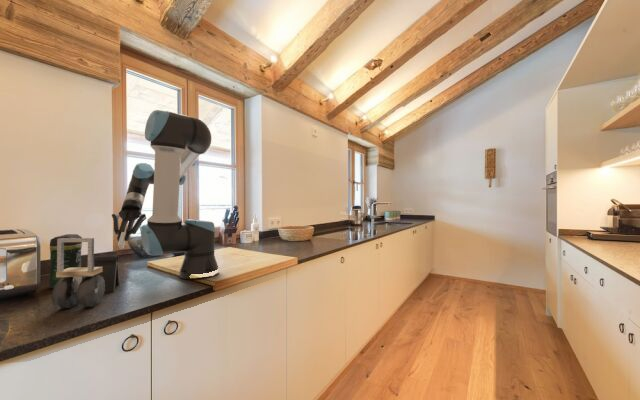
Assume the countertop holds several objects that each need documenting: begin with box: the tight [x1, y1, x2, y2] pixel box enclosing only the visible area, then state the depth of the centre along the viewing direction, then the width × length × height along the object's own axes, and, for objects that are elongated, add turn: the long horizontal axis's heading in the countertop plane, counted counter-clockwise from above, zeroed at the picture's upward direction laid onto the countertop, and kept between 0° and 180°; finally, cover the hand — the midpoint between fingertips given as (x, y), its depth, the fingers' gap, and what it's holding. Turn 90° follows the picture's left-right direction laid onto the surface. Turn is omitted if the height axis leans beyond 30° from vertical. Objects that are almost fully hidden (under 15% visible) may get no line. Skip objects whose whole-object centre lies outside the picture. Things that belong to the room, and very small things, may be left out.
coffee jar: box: [48, 233, 83, 289], centre depth 100 cm, size 10×8×19 cm
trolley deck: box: [56, 266, 103, 277], centre depth 81 cm, size 9×5×2 cm, turn 101°
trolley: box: [51, 237, 105, 310], centre depth 81 cm, size 9×9×20 cm
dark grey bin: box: [94, 254, 121, 294], centre depth 96 cm, size 9×6×12 cm, turn 24°
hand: (120, 246), depth 111 cm, fingers closed
